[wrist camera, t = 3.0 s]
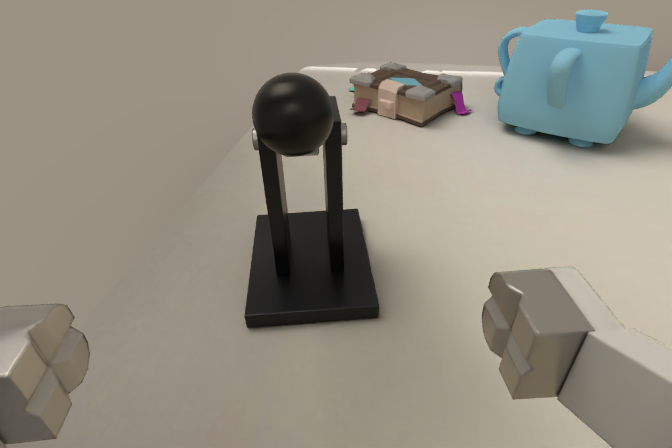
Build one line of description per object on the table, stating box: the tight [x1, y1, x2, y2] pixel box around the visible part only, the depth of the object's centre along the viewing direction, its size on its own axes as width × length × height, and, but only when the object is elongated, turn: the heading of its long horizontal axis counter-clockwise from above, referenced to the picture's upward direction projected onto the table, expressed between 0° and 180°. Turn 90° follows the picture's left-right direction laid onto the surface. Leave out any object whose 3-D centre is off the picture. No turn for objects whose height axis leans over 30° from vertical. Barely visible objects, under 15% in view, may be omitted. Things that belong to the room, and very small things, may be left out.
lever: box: [252, 73, 334, 157], centre depth 22 cm, size 14×3×3 cm, turn 4°
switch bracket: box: [245, 96, 379, 328], centre depth 31 cm, size 12×9×13 cm
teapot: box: [494, 10, 672, 147], centre depth 51 cm, size 18×16×14 cm
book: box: [348, 62, 471, 127], centre depth 61 cm, size 20×12×5 cm, turn 49°
